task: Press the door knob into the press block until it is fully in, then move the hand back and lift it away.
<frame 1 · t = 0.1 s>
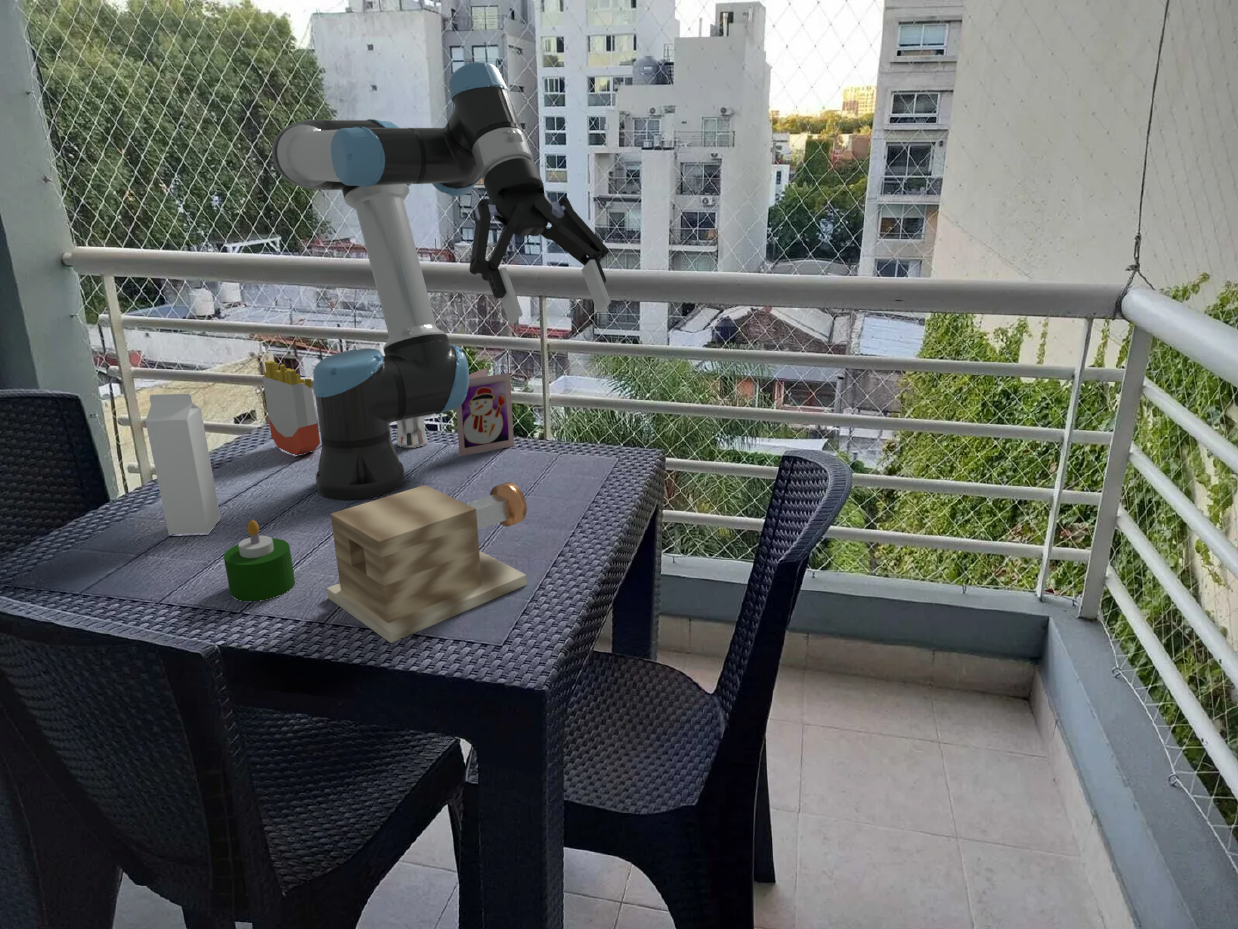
hand: (561, 313, 115), 36 cm above the table, tool tilted 35°, fingers open, 13 cm apart
french fries container: (298, 452, 174), on the table
door knob: (468, 518, 120), point 9 cm above the table, slide at 8.0 cm
press block: (419, 595, 117), on the table
candle: (263, 588, 120), on the table
milk: (195, 529, 139), on the table
greeting card: (481, 448, 175), on the table
beer glass: (412, 444, 177), on the table
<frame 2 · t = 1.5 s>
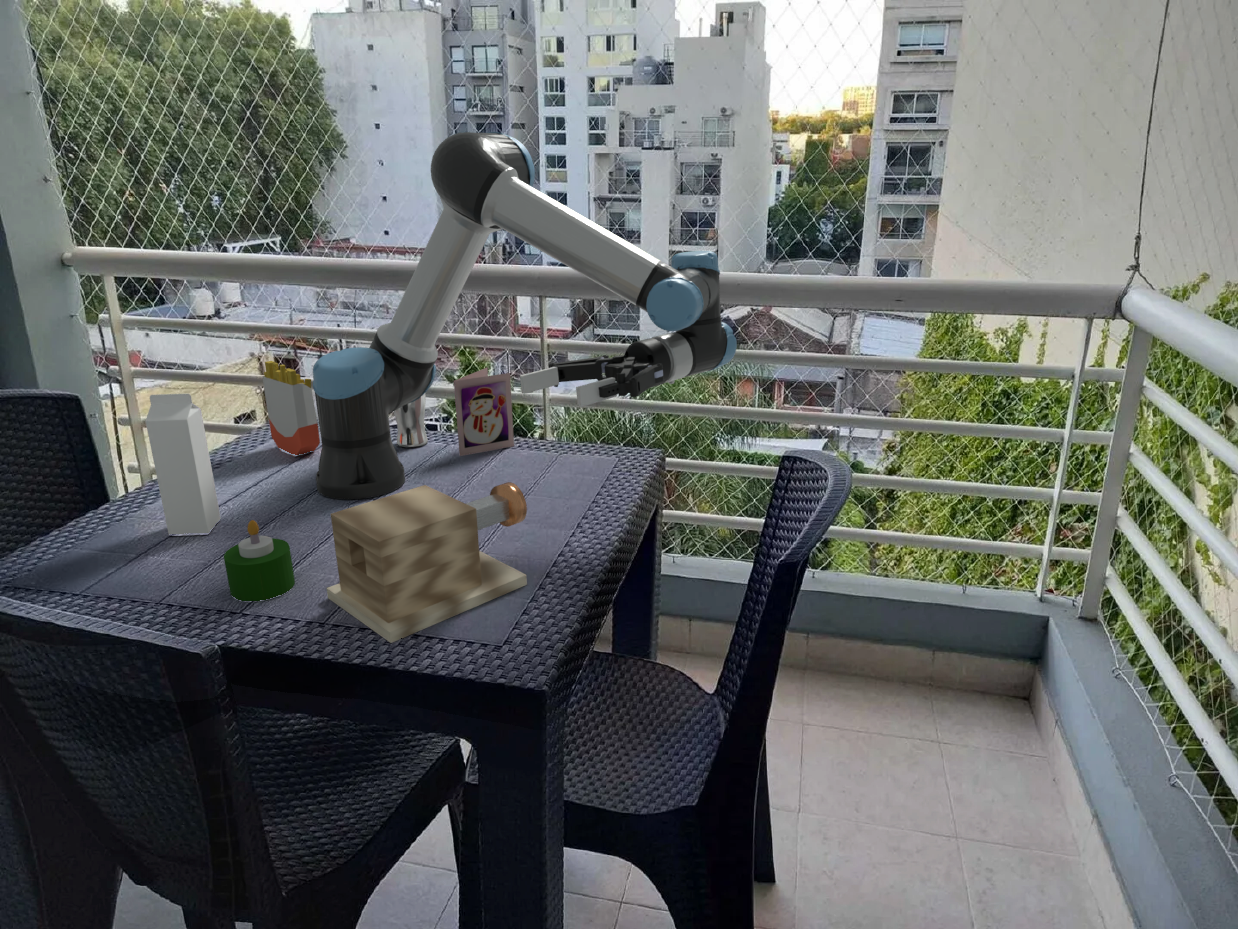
hand: (548, 390, 126), 23 cm above the table, tool horizontal, fingers open, 13 cm apart
beer glass: (412, 444, 177), on the table, touching arm
everything else where it was.
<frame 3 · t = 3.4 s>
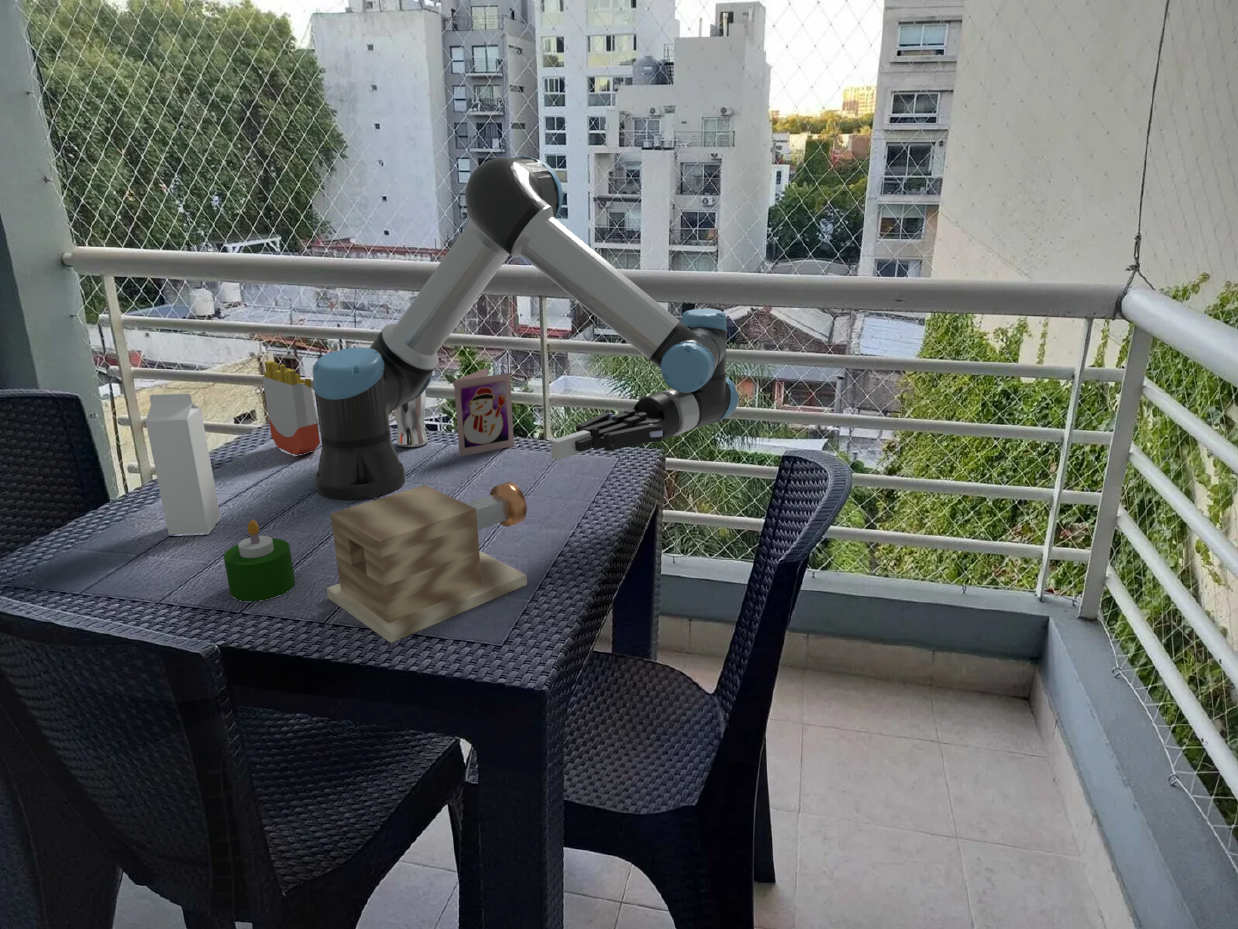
hand: (554, 450, 128), 15 cm above the table, tool horizontal, fingers closed
beer glass: (412, 444, 177), on the table
everything else where it was.
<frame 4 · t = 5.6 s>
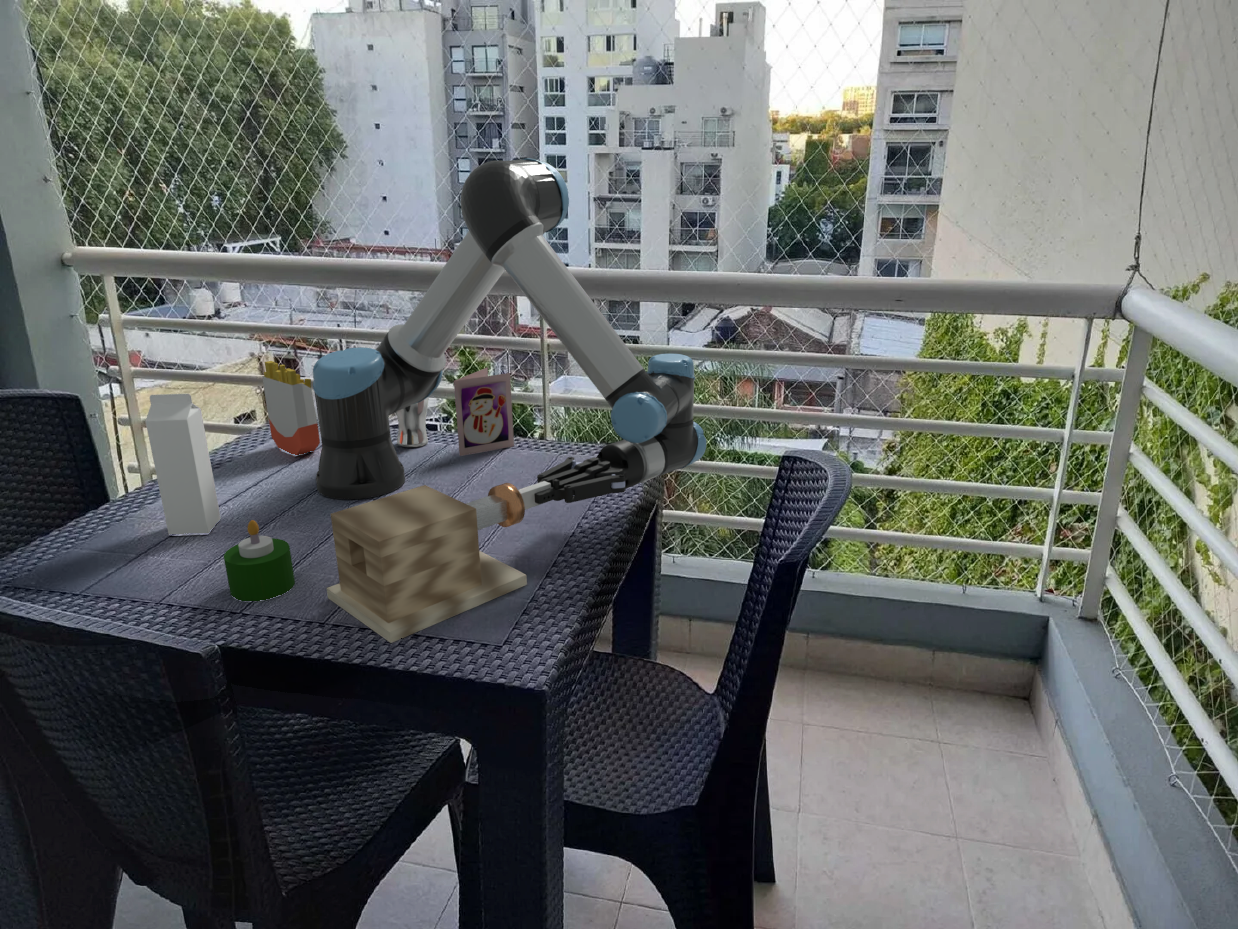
hand: (513, 502, 125), 8 cm above the table, tool horizontal, fingers closed
door knob: (466, 518, 120), point 9 cm above the table, slide at 7.6 cm, touching gripper
everything else where it was.
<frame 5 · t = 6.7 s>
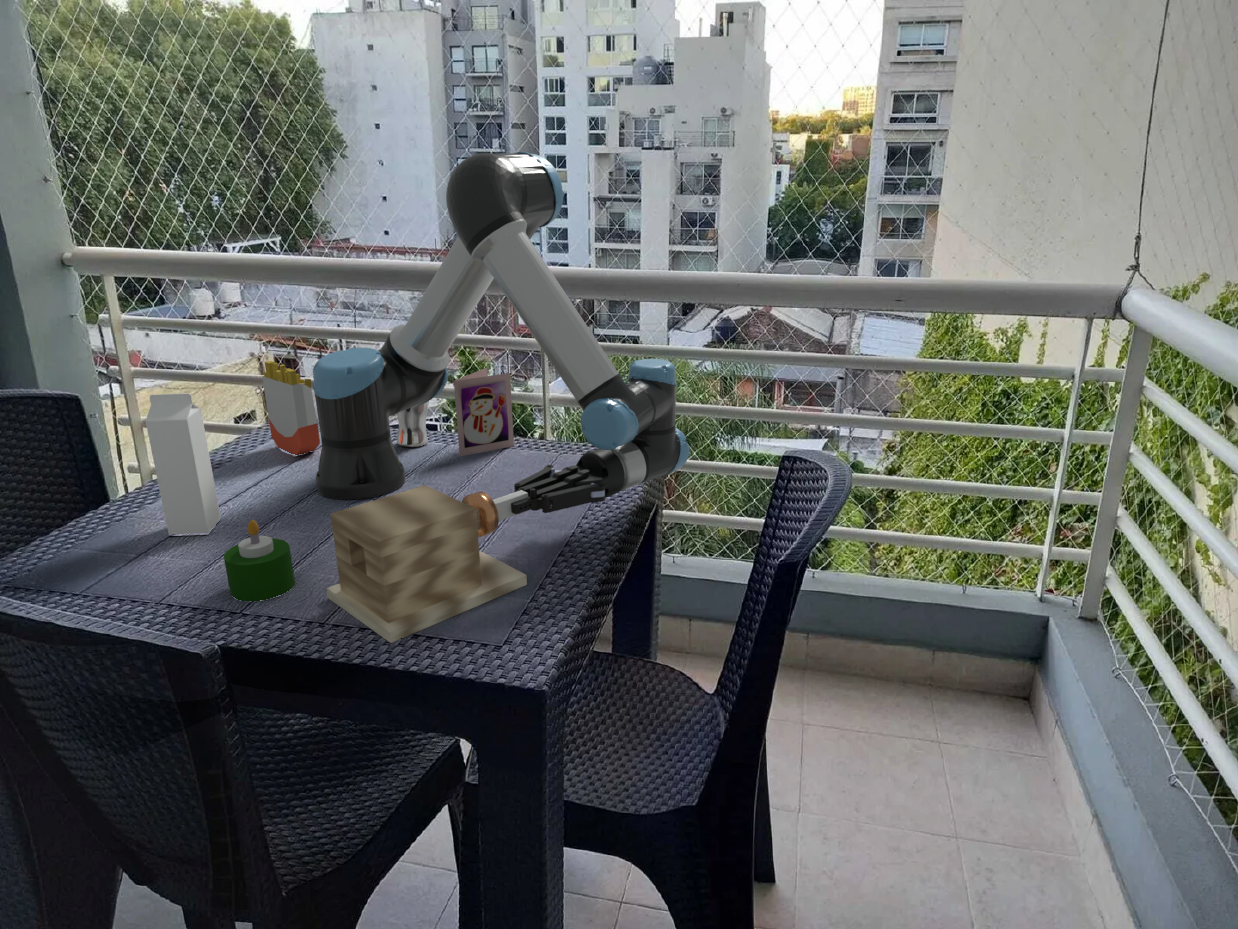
hand: (488, 513, 122), 8 cm above the table, tool horizontal, fingers closed
door knob: (438, 528, 117), point 9 cm above the table, slide at 3.1 cm, touching gripper
everything else where it was.
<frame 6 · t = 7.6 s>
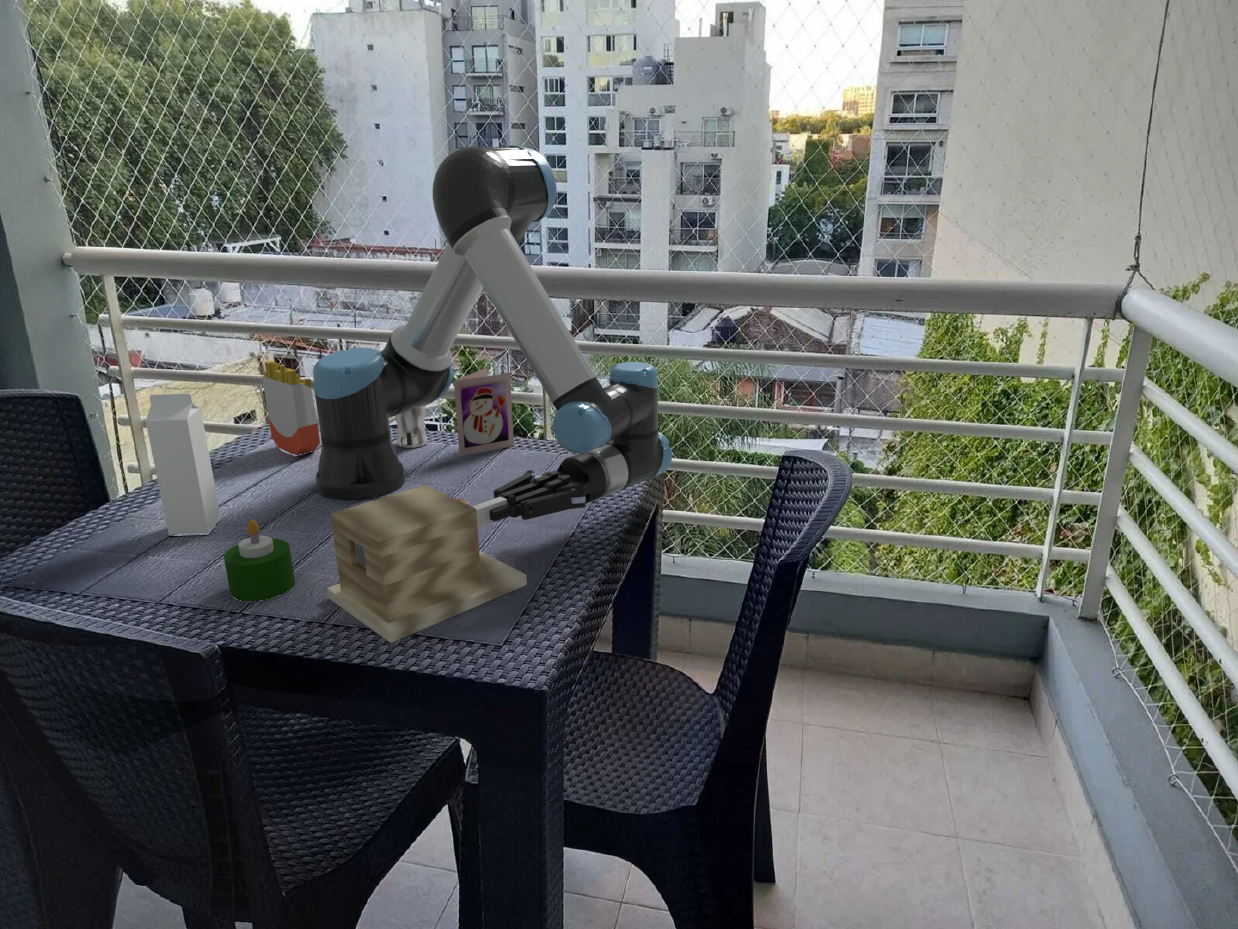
hand: (466, 520, 119), 8 cm above the table, tool horizontal, fingers closed
door knob: (414, 536, 114), point 9 cm above the table, slide at -0.5 cm, touching gripper, press block
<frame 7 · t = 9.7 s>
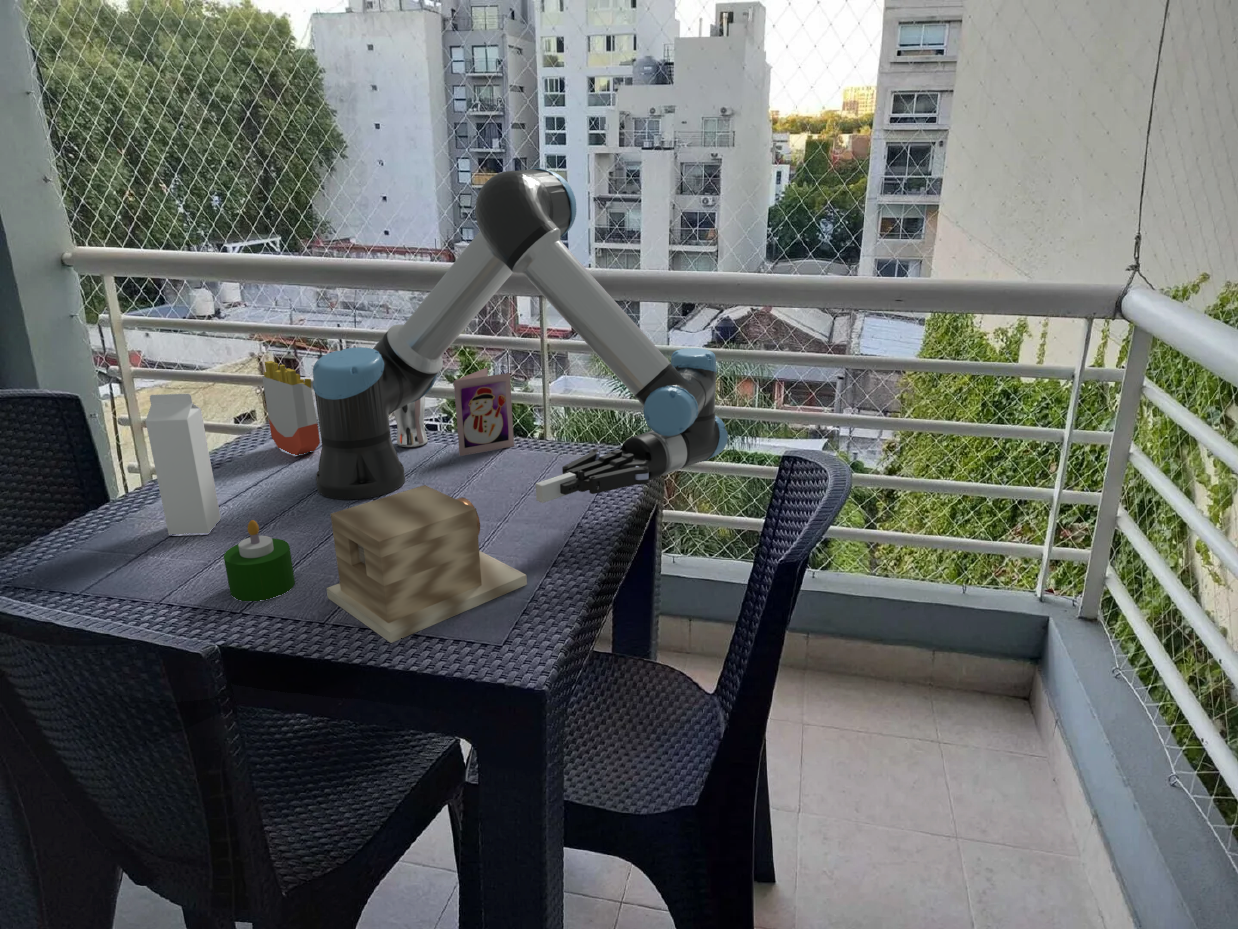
hand: (539, 493, 128), 9 cm above the table, tool horizontal, fingers closed
door knob: (418, 535, 115), point 9 cm above the table, slide at 0.0 cm
everything else where it was.
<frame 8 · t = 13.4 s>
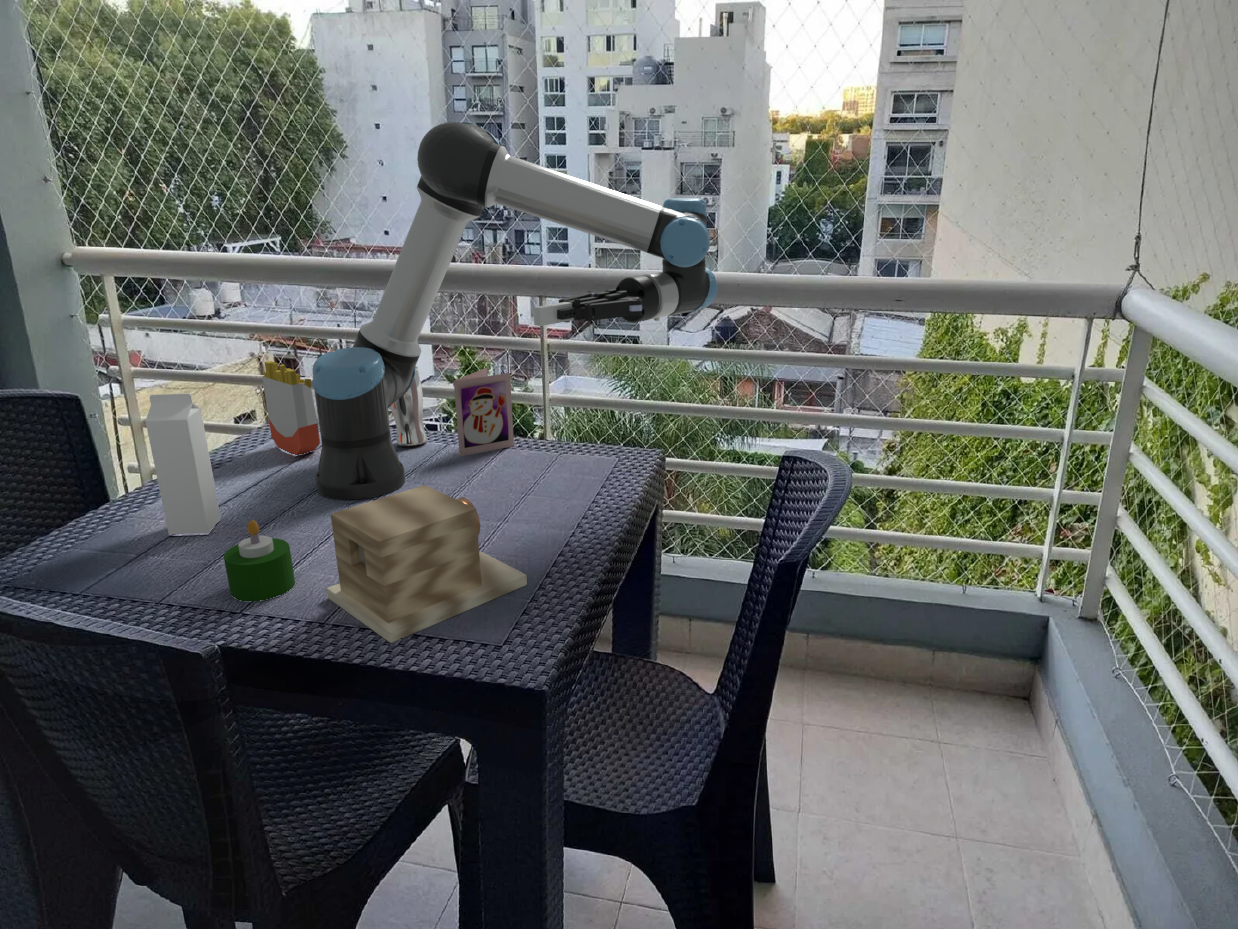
hand: (537, 316, 133), 32 cm above the table, tool horizontal, fingers closed
beer glass: (412, 443, 177), on the table, touching arm
everything else where it was.
at the end: door knob slide at 0.0 cm; the gripper is holding nothing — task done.
